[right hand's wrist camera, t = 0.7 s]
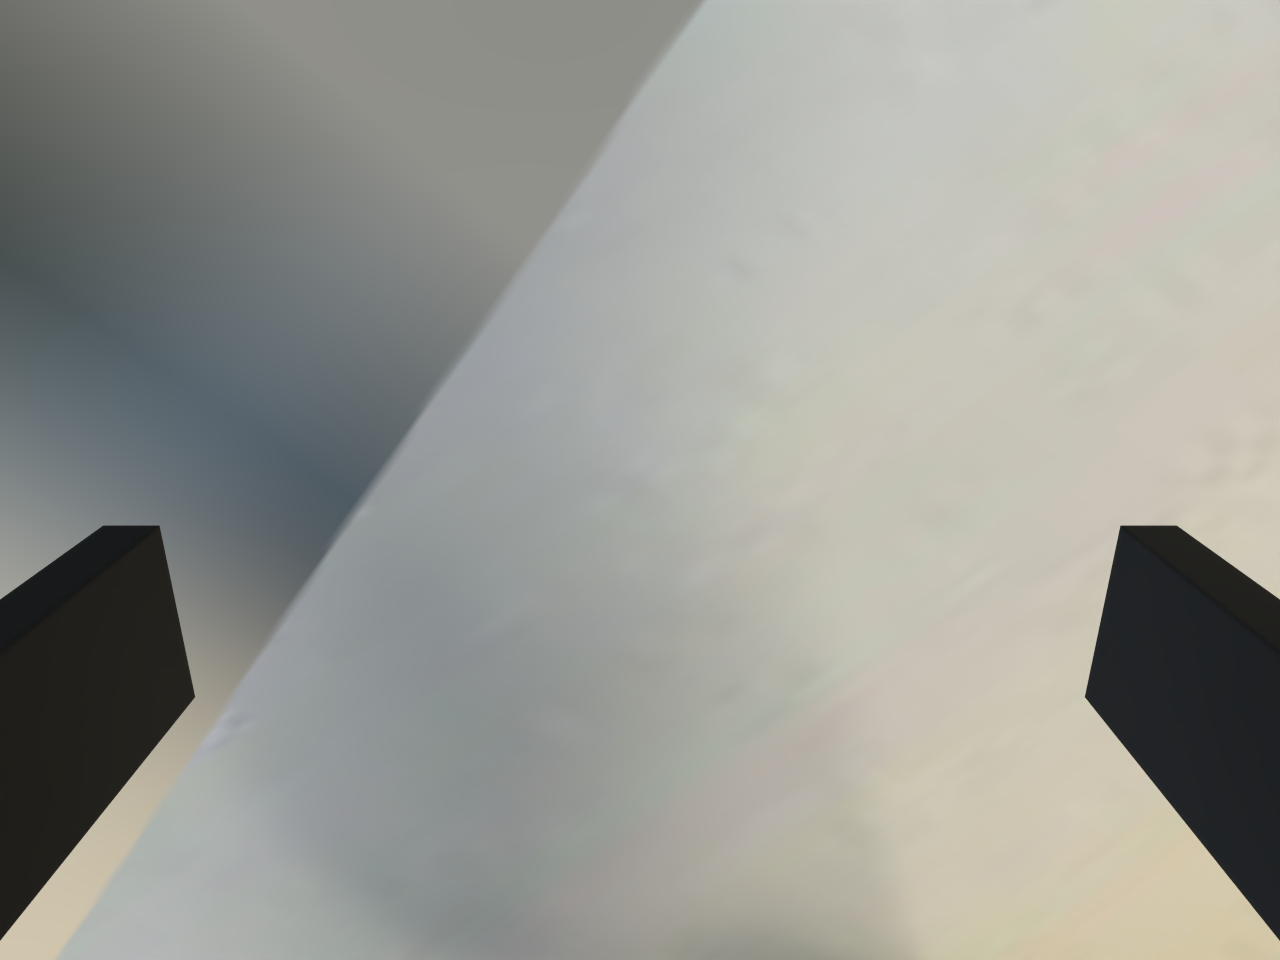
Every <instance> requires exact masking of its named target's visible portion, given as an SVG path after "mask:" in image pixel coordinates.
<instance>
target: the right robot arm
mask: <svg viewBox="0 0 1280 960" xmlns="http://www.w3.org/2000/svg"><path fill="white" fill-rule="evenodd" d="M194 698H195V695H194V690H193V685H192V680H191V675H190V670H189V666H188V661H187V656H186V651H185V646H184V642H183V637H182V632H181V627H180V622H179V617H178V613H177V608H176V603H175V598H174V594H173V589H172V584H171V579H170V574H169V569H168V565H167V560H166V555H165V550H164V545H163V540H162V536H161V531H160V526H102V527H101V528H99V529H98V530H97V531H95V532H94V533H92V534H91V535H90V536H88V537H87V538H85V539H84V540H83V541H81V542H80V543H79V544H77V545H76V546H74V547H73V548H72V549H70V550H69V551H67V552H66V553H64V554H63V555H62V556H60V557H59V558H58V559H56V560H55V561H53V562H52V563H51V564H49V565H48V566H46V567H45V568H44V569H42V570H41V571H39V572H38V573H37V574H35V575H34V576H32V577H31V578H30V579H28V580H27V581H25V582H24V583H23V584H21V585H20V586H18V587H17V588H16V589H14V590H13V591H12V592H10V593H9V594H7V595H6V596H5V597H3V598H2V599H0V940H1V939H2V938H3V936H4V935H5V934H6V933H7V931H8V930H9V929H10V928H11V926H12V925H13V924H14V923H15V921H16V920H17V919H18V918H19V916H20V915H21V914H22V913H23V911H24V910H25V909H26V908H27V906H28V905H29V904H30V903H31V901H32V900H33V899H34V898H35V896H36V895H37V894H38V893H39V891H40V890H41V889H42V888H43V886H44V885H45V884H46V883H47V881H48V880H49V879H50V878H51V876H52V875H53V874H54V873H55V871H56V870H57V869H58V868H59V866H60V865H61V864H62V863H63V861H64V860H65V859H66V858H67V856H68V855H69V854H70V853H71V851H72V850H73V849H74V848H75V846H76V845H77V844H78V843H79V841H80V840H81V839H82V838H83V836H84V835H85V834H86V833H87V831H88V830H89V829H90V828H91V826H92V825H93V824H94V823H95V821H96V820H97V819H98V818H99V816H100V815H101V814H102V813H103V811H104V810H105V809H106V808H107V806H108V805H109V804H110V803H111V801H112V800H113V799H114V798H115V796H116V795H117V794H118V793H119V791H120V790H121V789H122V788H123V786H124V785H125V784H126V783H127V781H128V780H129V779H130V778H131V776H132V775H133V774H134V773H135V771H136V770H137V769H138V768H139V766H140V765H141V764H142V763H143V761H144V760H145V759H146V758H147V756H148V755H149V754H150V753H151V751H152V750H153V749H154V748H155V746H156V745H157V744H158V743H159V741H160V740H161V739H162V738H163V736H164V735H165V734H166V733H167V731H168V730H169V729H170V728H171V726H172V725H173V724H174V723H175V721H176V720H177V719H178V718H179V716H180V715H181V714H182V713H183V711H184V710H185V709H186V708H187V706H188V705H189V704H190V703H191V701H192V700H193V699H194ZM1085 698H1086V699H1087V700H1088V701H1089V703H1090V704H1091V705H1092V706H1093V708H1094V709H1095V710H1096V711H1097V713H1098V714H1099V715H1100V716H1101V718H1102V719H1103V720H1104V721H1105V723H1106V724H1107V725H1108V726H1109V728H1110V729H1111V730H1112V731H1113V733H1114V734H1115V735H1116V736H1117V738H1118V739H1119V740H1120V741H1121V743H1122V744H1123V745H1124V746H1125V748H1126V749H1127V750H1128V751H1129V753H1130V754H1131V755H1132V756H1133V758H1134V759H1135V760H1136V761H1137V763H1138V764H1139V765H1140V766H1141V768H1142V769H1143V770H1144V771H1145V773H1146V774H1147V775H1148V776H1149V778H1150V779H1151V780H1152V781H1153V783H1154V784H1155V785H1156V786H1157V788H1158V789H1159V790H1160V791H1161V793H1162V794H1163V795H1164V796H1165V798H1166V799H1167V800H1168V801H1169V803H1170V804H1171V805H1172V806H1173V808H1174V809H1175V810H1176V811H1177V813H1178V814H1179V815H1180V816H1181V818H1182V819H1183V820H1184V821H1185V823H1186V824H1187V825H1188V826H1189V828H1190V829H1191V830H1192V831H1193V833H1194V834H1195V835H1196V836H1197V838H1198V839H1199V840H1200V841H1201V843H1202V844H1203V845H1204V846H1205V848H1206V849H1207V850H1208V851H1209V853H1210V854H1211V855H1212V856H1213V858H1214V859H1215V860H1216V861H1217V863H1218V864H1219V865H1220V866H1221V868H1222V869H1223V870H1224V871H1225V873H1226V874H1227V875H1228V876H1229V878H1230V879H1231V880H1232V881H1233V883H1234V884H1235V885H1236V886H1237V888H1238V889H1239V890H1240V891H1241V893H1242V894H1243V895H1244V896H1245V898H1246V899H1247V900H1248V901H1249V903H1250V904H1251V905H1252V906H1253V908H1254V909H1255V910H1256V911H1257V913H1258V914H1259V915H1260V916H1261V918H1262V919H1263V920H1264V921H1265V923H1266V924H1267V925H1268V926H1269V928H1270V929H1271V930H1272V931H1273V933H1274V934H1275V935H1276V936H1277V938H1278V939H1279V940H1280V599H1278V598H1277V597H1275V596H1274V595H1273V594H1271V593H1270V592H1269V591H1267V590H1266V589H1264V588H1263V587H1262V586H1260V585H1259V584H1257V583H1256V582H1255V581H1253V580H1252V579H1250V578H1249V577H1248V576H1246V575H1245V574H1243V573H1242V572H1241V571H1239V570H1238V569H1236V568H1235V567H1234V566H1232V565H1231V564H1229V563H1228V562H1227V561H1225V560H1224V559H1222V558H1221V557H1220V556H1218V555H1217V554H1216V553H1214V552H1213V551H1211V550H1210V549H1209V548H1207V547H1206V546H1204V545H1203V544H1202V543H1200V542H1199V541H1197V540H1196V539H1195V538H1193V537H1192V536H1190V535H1189V534H1188V533H1186V532H1185V531H1183V530H1182V529H1181V528H1179V527H1178V526H1120V531H1119V536H1118V540H1117V545H1116V550H1115V555H1114V560H1113V565H1112V569H1111V574H1110V579H1109V584H1108V589H1107V593H1106V598H1105V603H1104V608H1103V613H1102V617H1101V622H1100V627H1099V632H1098V637H1097V642H1096V646H1095V651H1094V656H1093V661H1092V666H1091V670H1090V675H1089V680H1088V685H1087V690H1086V694H1085Z"/></svg>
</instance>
